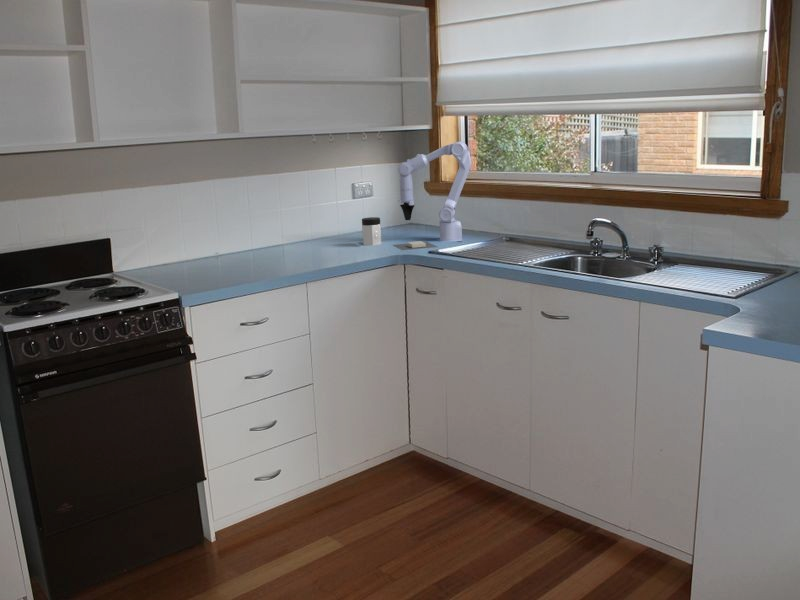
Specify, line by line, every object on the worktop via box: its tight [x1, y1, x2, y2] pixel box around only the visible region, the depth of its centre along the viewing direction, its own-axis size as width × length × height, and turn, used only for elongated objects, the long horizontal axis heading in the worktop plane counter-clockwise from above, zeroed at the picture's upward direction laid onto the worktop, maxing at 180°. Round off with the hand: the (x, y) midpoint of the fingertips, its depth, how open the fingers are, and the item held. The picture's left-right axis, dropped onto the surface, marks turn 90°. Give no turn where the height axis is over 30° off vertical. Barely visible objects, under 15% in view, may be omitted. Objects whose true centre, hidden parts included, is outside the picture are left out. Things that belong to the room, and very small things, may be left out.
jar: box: [361, 216, 382, 246], centre depth 357 cm, size 9×8×12 cm
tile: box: [406, 240, 426, 248], centre depth 345 cm, size 6×2×7 cm
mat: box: [392, 241, 439, 251], centre depth 347 cm, size 16×16×1 cm
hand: (407, 220), depth 361 cm, fingers closed
